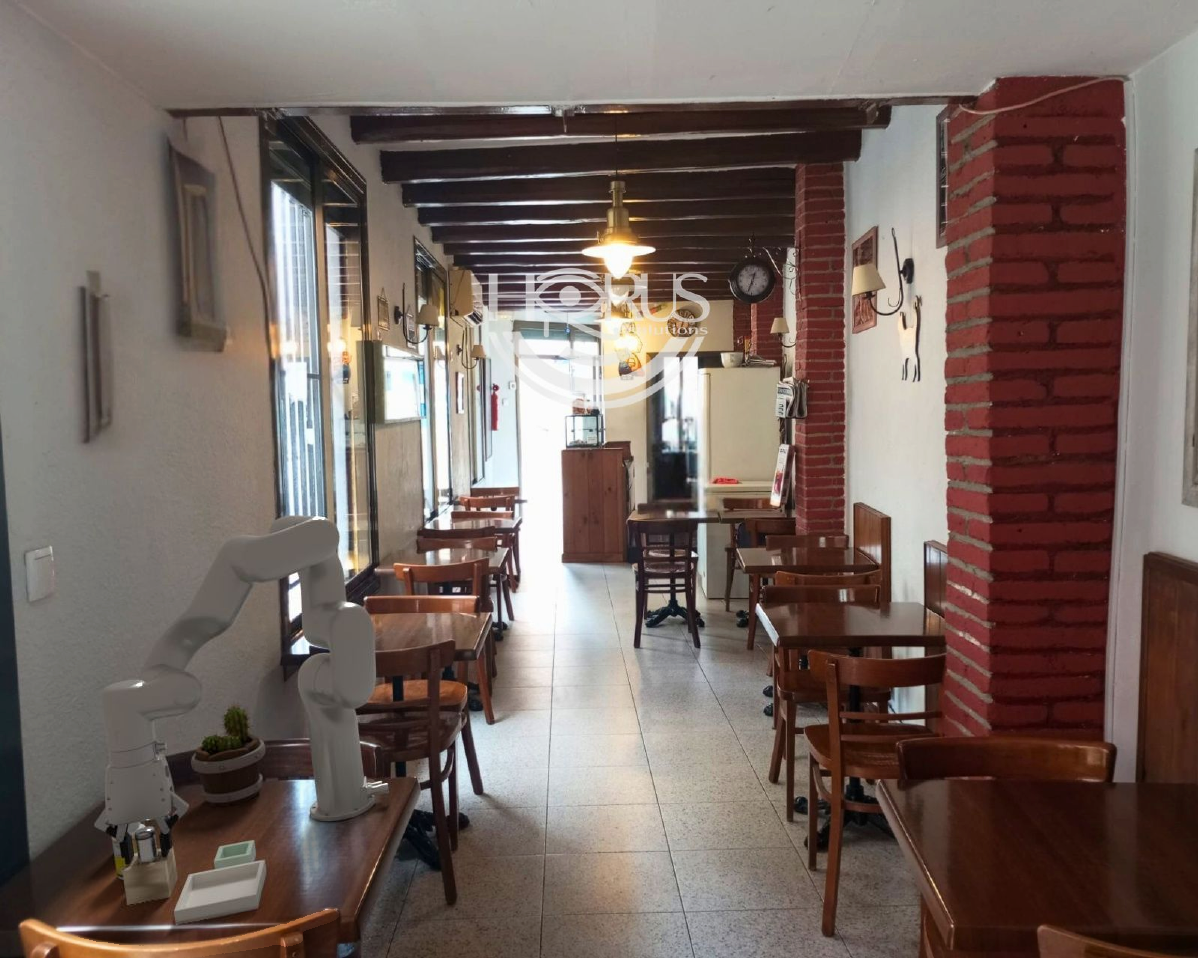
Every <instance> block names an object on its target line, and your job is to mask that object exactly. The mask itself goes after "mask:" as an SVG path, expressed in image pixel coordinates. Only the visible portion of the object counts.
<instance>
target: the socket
mask: <svg viewBox="0 0 1198 958" xmlns="http://www.w3.org/2000/svg"><path fill="white" fill-rule="evenodd" d="M256 856H257V851H256V844H255V840H254V839H252V840H246V841H241V842H236V843H229V844H225V845H219V847H218V849H217V852H216V855H215V857H214V861H213V865H214V869H220V868H225V867H230V866H235V865H240V864H245V863H250V862H255V861H256Z"/></svg>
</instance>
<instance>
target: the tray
mask: <svg viewBox="0 0 1198 958" xmlns="http://www.w3.org/2000/svg"><path fill="white" fill-rule="evenodd" d="M266 876H267V866H266V860H265V859H261V860H254V862H250V863H245V864H240V865H235V866H230V867H225V868H220V869H215V868H214V869H210V870H205V871H200V872H196V873H190V874H188V876H187V879H186V881H185V883H184V886H183V888H182V891H181V894H180V895H179V899H178V900H177V902H176V905H175V908H174V911H173V913H174V914H173V915H174V921H175V925H176V924H182V923H185V922H188V921H196V922H201V921H205V920H204V919H206V920H209V919H210V920H211V919H215V918H219V917H225V916H228V915H234V914H238V913H243V912H248V911H254V910H258V909H259V906H260V901H261V897H262V894H263V893H262V892H263V889H264V885H265V881H266ZM200 920H201V921H200ZM182 925H183V924H182Z"/></svg>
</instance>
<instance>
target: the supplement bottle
mask: <svg viewBox="0 0 1198 958" xmlns="http://www.w3.org/2000/svg"><path fill="white" fill-rule="evenodd" d="M145 825H146V824H145ZM145 825H143V824H140V822H136V823H131V824H129V828H128V833H129V834H130V835H132V841H133V849H134V853H137V846H136V840H135V832H136V831H137V830H139V829H141V828H144V827H145ZM117 826H118V825H117ZM111 842H112V849H113V855H114V861H115V862H114V863H115V869H116V873H117V874H116V875H117V877H118V879H120V880H122V881H124V879H123V870H124V868H125V866H126V864H125V858H122V857H121V851H120V844H119V842H117V841H116V839H115V838H113V837H112V836H111Z"/></svg>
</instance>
